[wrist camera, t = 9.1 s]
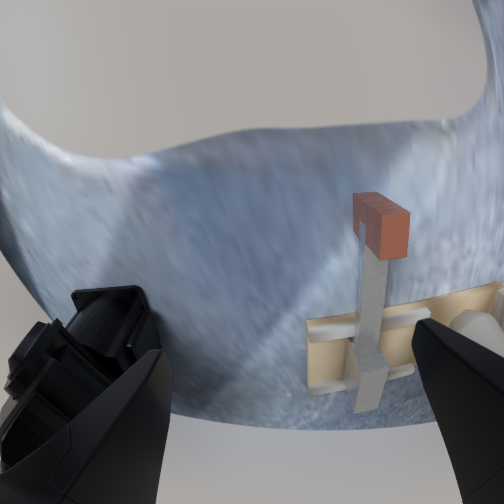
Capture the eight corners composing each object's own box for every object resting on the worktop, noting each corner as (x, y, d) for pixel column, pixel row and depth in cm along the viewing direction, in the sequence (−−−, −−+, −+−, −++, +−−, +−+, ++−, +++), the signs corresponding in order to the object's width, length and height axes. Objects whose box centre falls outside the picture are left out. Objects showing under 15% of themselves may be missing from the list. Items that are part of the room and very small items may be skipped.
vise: (306, 381, 25) (315, 427, 20) (305, 320, 22) (318, 370, 17) (479, 338, 24) (503, 368, 19) (498, 281, 21) (529, 310, 16)
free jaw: (342, 376, 23) (353, 415, 19) (349, 193, 17) (378, 215, 13) (363, 372, 23) (377, 409, 19) (379, 191, 17) (413, 212, 13)
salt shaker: (448, 358, 23) (504, 456, 11) (428, 335, 22) (496, 450, 10) (489, 319, 22) (558, 407, 10) (474, 289, 20) (562, 388, 8)
